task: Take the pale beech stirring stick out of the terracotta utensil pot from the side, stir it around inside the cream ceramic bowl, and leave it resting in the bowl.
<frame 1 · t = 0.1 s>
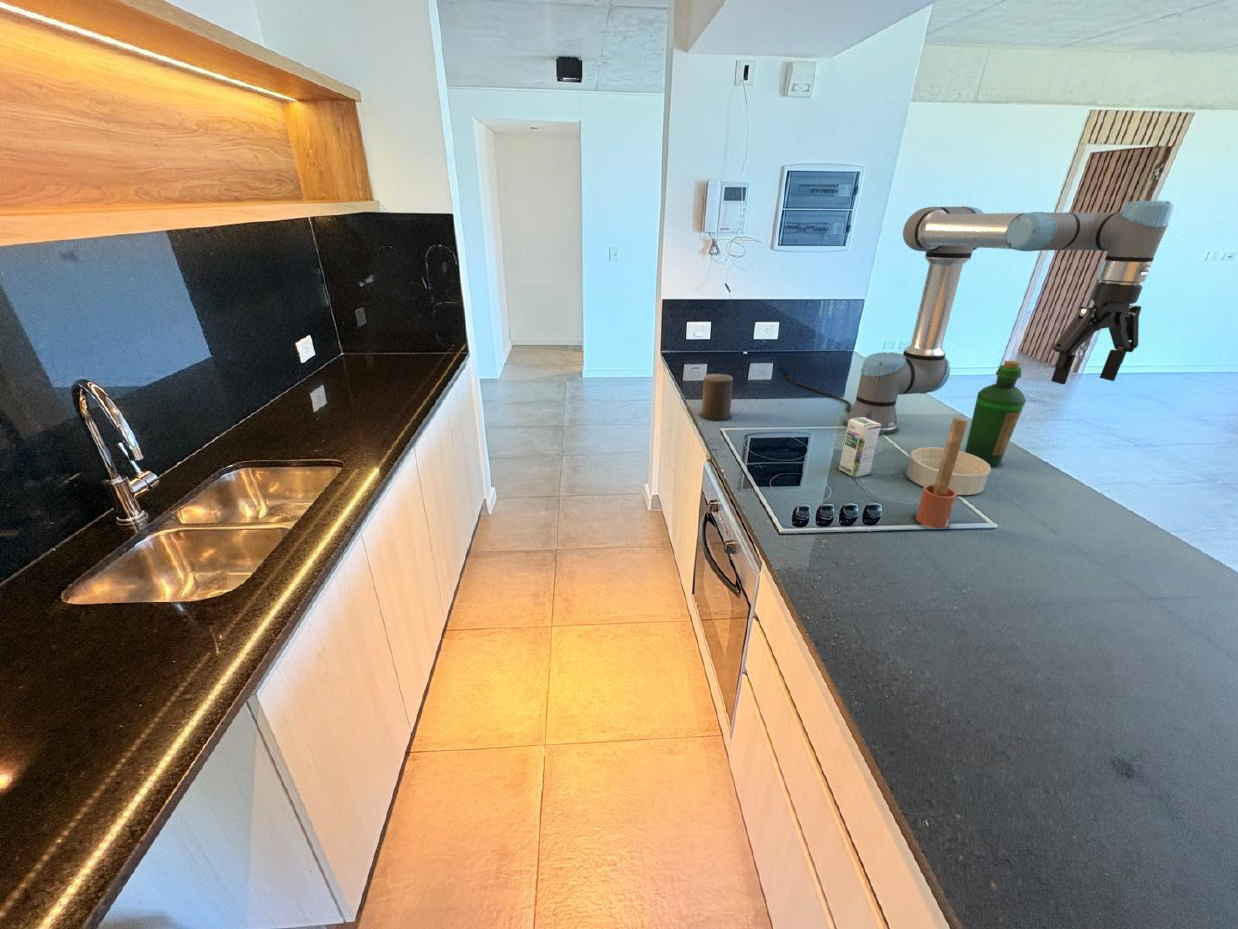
hand: (1082, 381, 120), 28 cm above the worktop, tool pointing down, fingers open, 13 cm apart
utensil pot: (930, 522, 118), on the worktop
syrup box: (854, 472, 141), on the worktop
bowl: (943, 481, 136), on the worktop
pillar candle: (715, 416, 182), on the worktop
stirring stick: (931, 520, 117), resting on utensil pot
bottle: (980, 461, 148), on the worktop
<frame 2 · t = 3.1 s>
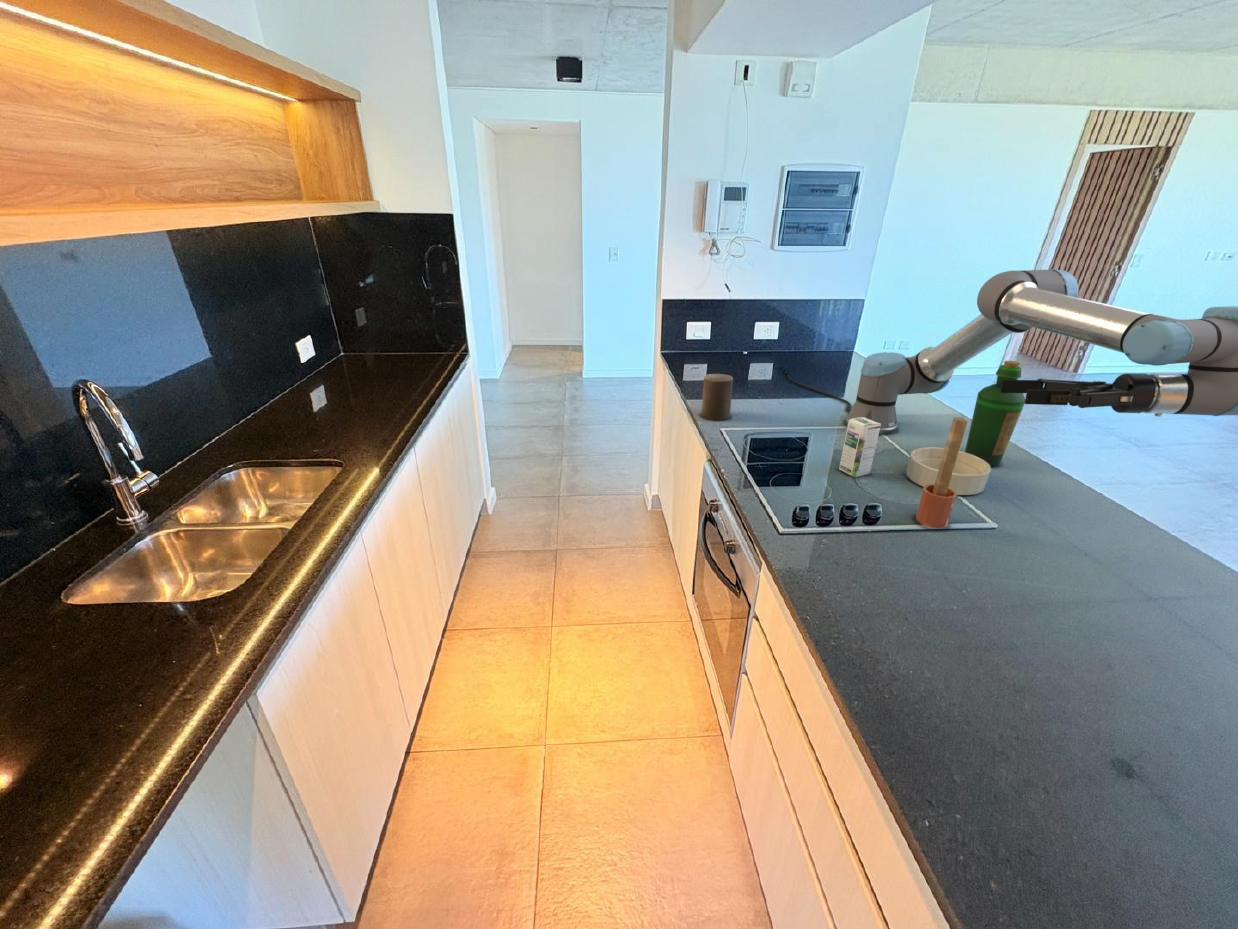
hand: (1013, 391, 107), 30 cm above the worktop, tool horizontal, fingers open, 13 cm apart
nothing on the worktop moved.
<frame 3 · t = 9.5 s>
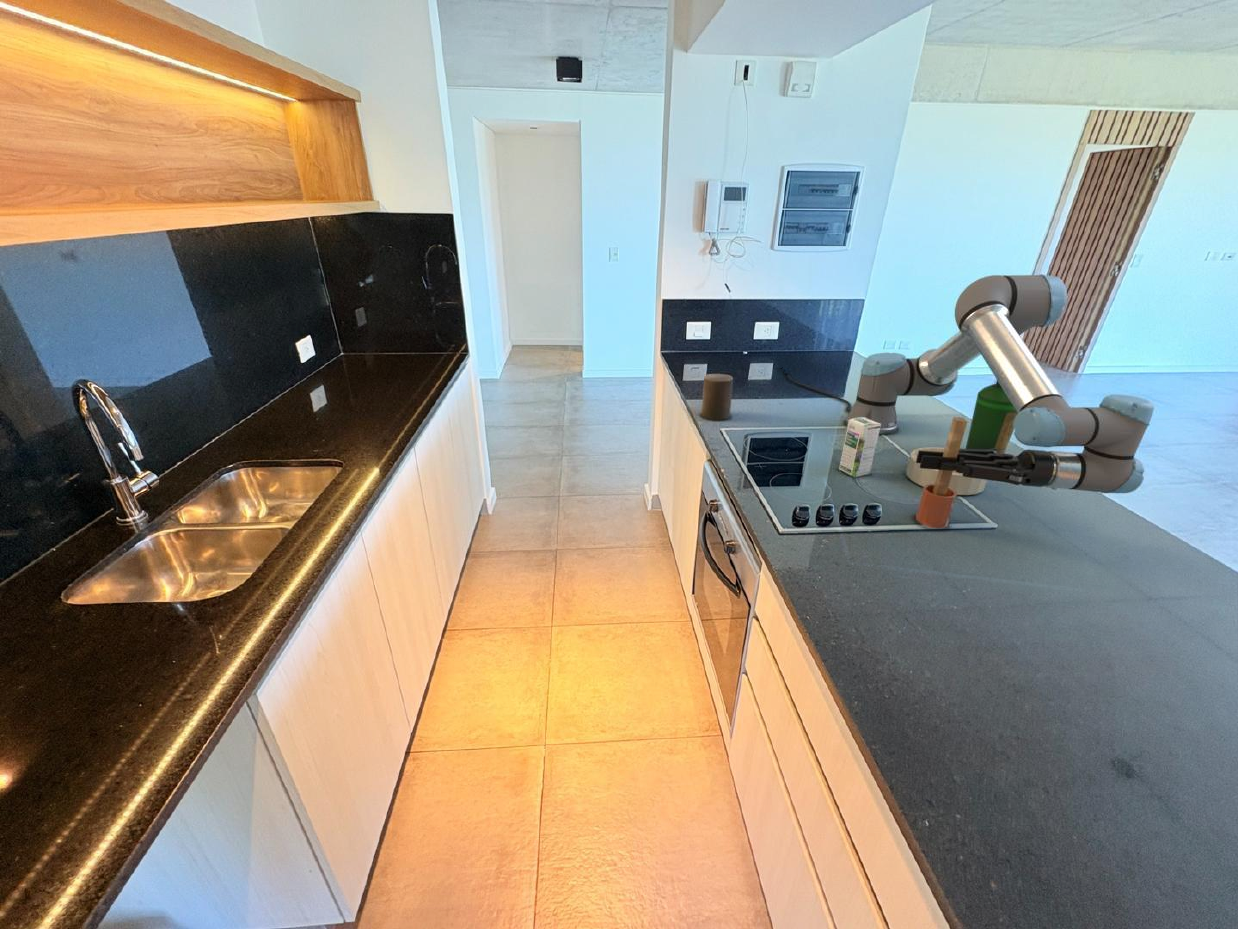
hand: (919, 459, 112), 15 cm above the worktop, tool horizontal, fingers closed on stirring stick, 2 cm apart
stirring stick: (931, 520, 117), resting on utensil pot, touching gripper
everything else where it was.
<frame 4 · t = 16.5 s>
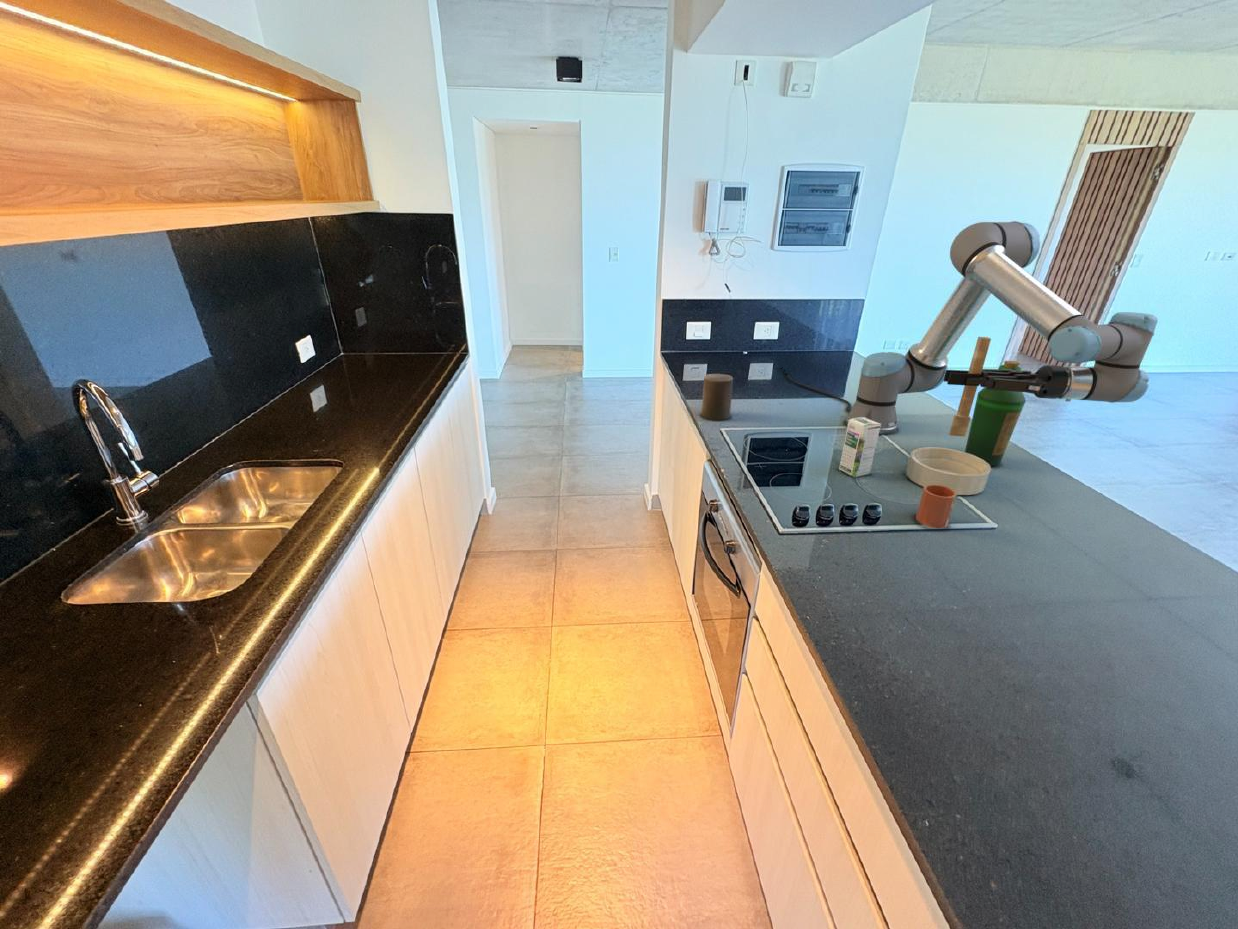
hand: (947, 377, 126), 27 cm above the worktop, tool horizontal, fingers closed on stirring stick, 2 cm apart
stirring stick: (957, 435, 130), point 13 cm above the worktop, touching gripper
everything else where it was.
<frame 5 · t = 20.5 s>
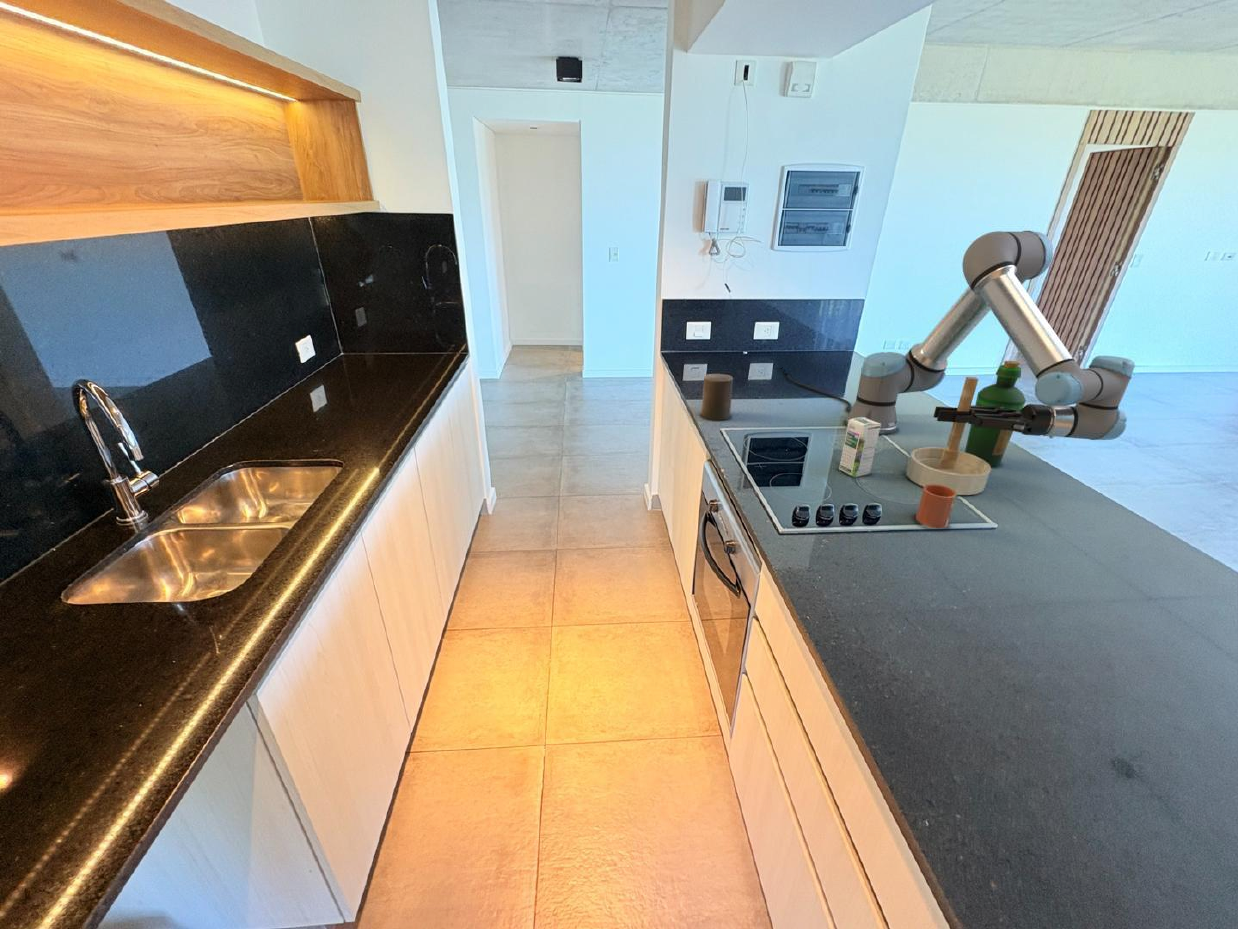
hand: (937, 413, 132), 17 cm above the worktop, tool horizontal, fingers closed on stirring stick, 2 cm apart
stirring stick: (946, 468, 137), point 3 cm above the worktop, touching gripper
everything else where it was.
when the fingers open (15 cm above the worktop, at t = 23.5 s): stirring stick stays where it is, resting on bowl.
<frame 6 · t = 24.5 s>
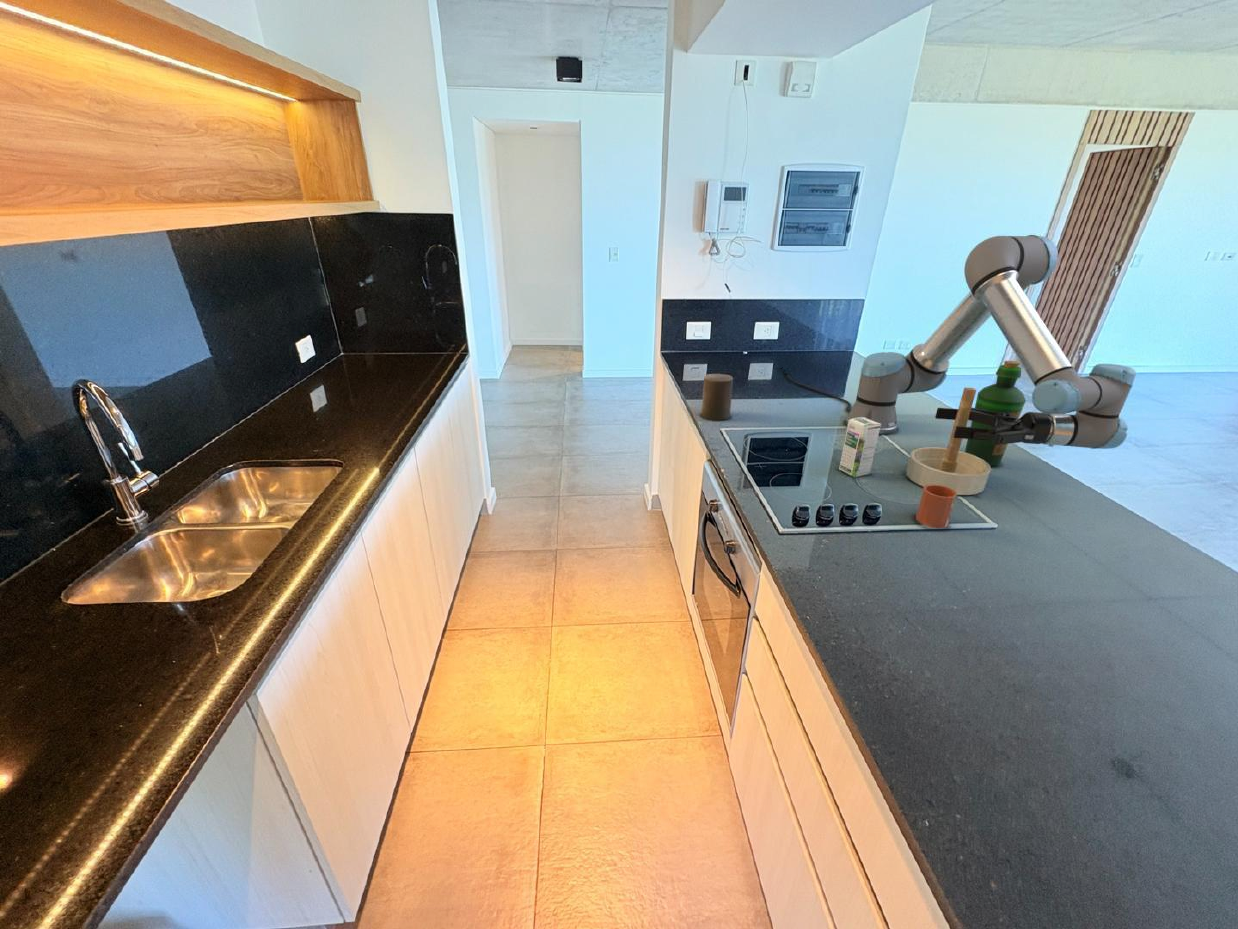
hand: (945, 422, 130), 16 cm above the worktop, tool horizontal, fingers open, 13 cm apart
stirring stick: (944, 479, 136), point 1 cm above the worktop, touching bowl
everything else where it was.
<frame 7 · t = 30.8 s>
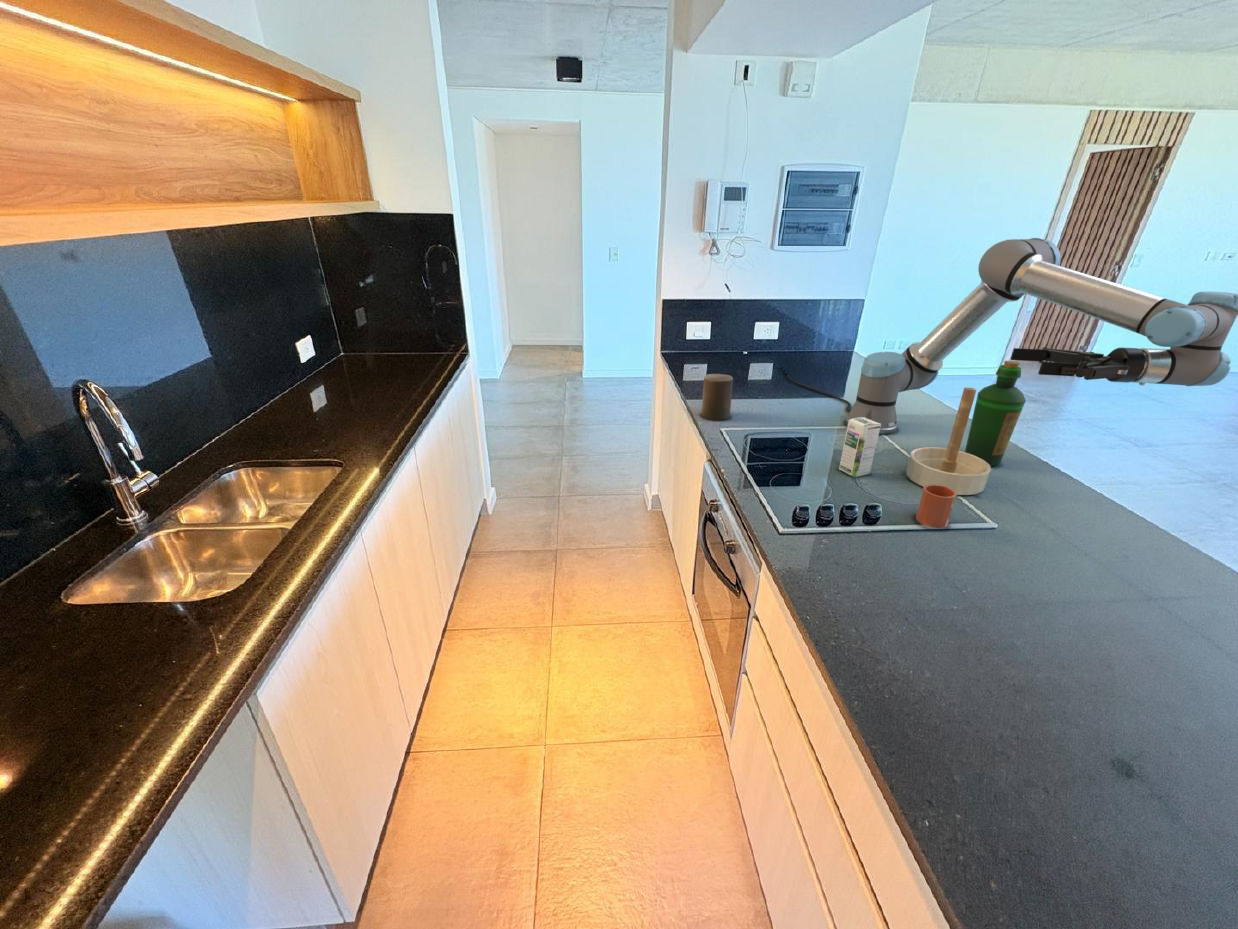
hand: (1025, 360, 121), 32 cm above the worktop, tool horizontal, fingers open, 13 cm apart
nothing on the worktop moved.
at the end: stirring stick inside the target area in the bowl (0.1 cm from its centre), point 0.8 cm above the bowl's base; the gripper is holding nothing; stirring stick moved 24.7 cm from its start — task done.
